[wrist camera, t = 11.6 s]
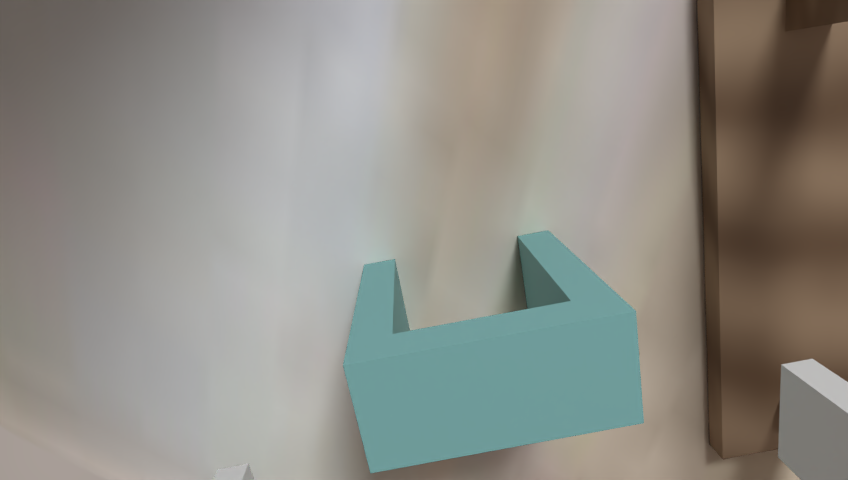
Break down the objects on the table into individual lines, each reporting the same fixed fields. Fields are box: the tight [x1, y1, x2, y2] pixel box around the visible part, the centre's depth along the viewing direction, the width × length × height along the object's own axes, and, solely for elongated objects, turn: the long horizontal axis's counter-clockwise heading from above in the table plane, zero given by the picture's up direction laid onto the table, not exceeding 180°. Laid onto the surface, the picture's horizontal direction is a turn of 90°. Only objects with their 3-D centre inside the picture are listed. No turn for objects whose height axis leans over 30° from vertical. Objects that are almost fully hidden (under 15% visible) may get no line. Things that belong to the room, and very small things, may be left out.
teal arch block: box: [343, 231, 644, 473], centre depth 21 cm, size 4×9×10 cm, turn 100°
